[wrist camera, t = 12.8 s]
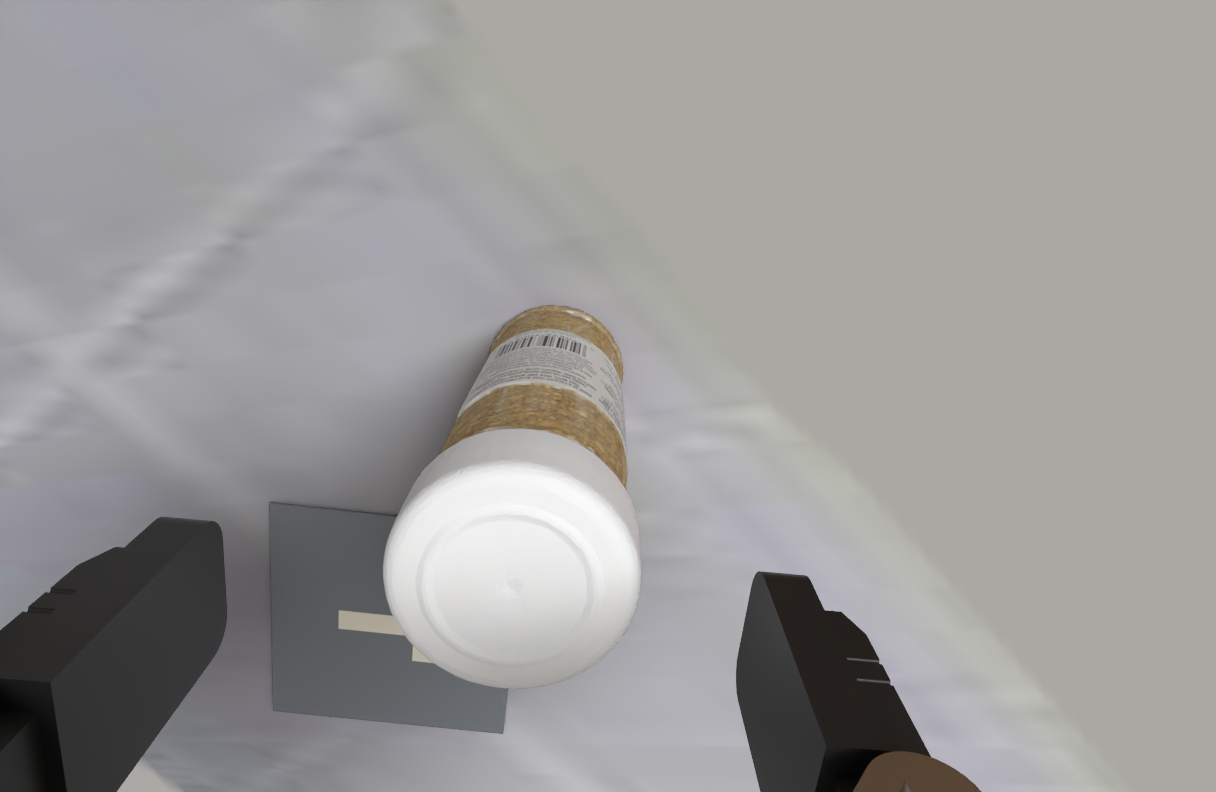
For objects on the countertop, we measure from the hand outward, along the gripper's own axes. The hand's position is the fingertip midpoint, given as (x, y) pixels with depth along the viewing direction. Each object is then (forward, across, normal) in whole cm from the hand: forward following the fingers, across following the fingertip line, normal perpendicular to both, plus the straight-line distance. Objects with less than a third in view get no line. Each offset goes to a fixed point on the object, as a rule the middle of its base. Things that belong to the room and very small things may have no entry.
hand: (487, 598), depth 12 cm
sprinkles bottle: (+15, 0, +1) cm, 15 cm away
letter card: (+15, +5, +12) cm, 19 cm away
